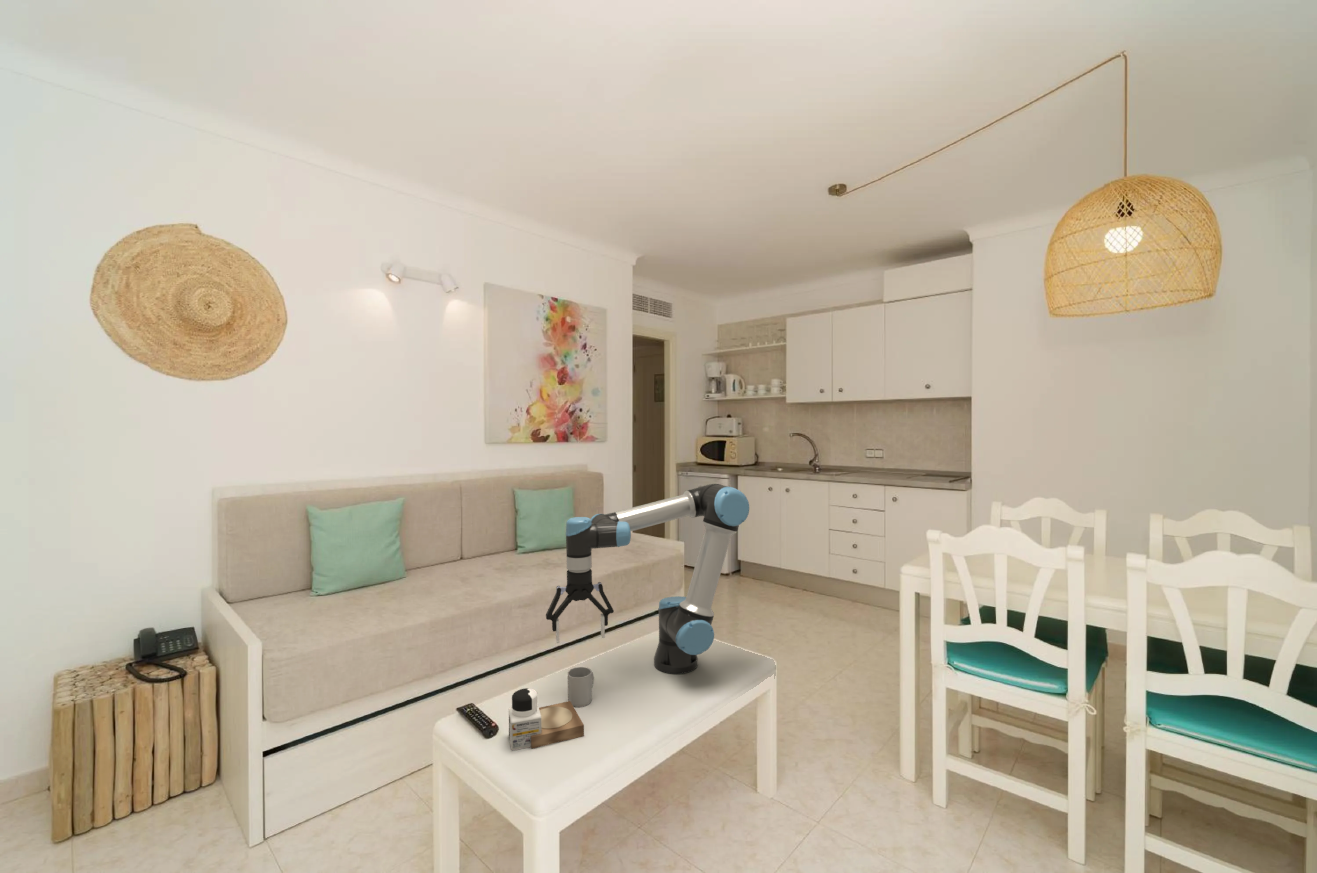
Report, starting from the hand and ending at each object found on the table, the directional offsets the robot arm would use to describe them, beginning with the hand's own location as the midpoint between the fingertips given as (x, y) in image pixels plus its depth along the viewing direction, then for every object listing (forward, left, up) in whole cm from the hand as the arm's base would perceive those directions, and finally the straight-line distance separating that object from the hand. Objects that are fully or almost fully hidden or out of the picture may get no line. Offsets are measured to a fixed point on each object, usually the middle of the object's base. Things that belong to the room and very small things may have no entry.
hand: (580, 638), depth 168 cm
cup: (0, 0, -19) cm, 19 cm away
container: (+17, +18, -19) cm, 31 cm away
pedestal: (+10, +14, -18) cm, 25 cm away
